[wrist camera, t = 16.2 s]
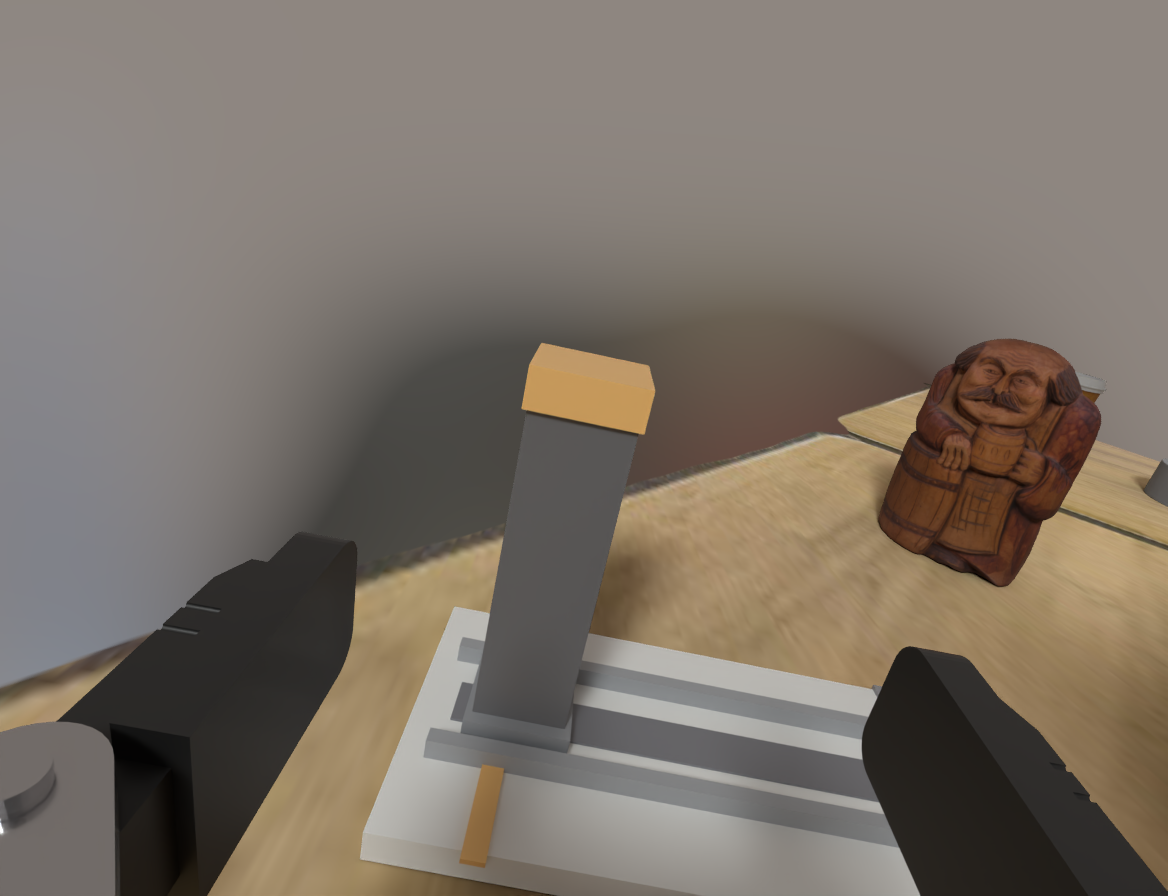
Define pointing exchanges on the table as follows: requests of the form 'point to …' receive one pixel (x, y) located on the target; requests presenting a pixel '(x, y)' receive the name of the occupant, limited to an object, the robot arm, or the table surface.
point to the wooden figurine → (990, 458)
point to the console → (643, 783)
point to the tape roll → (1159, 484)
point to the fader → (556, 542)
